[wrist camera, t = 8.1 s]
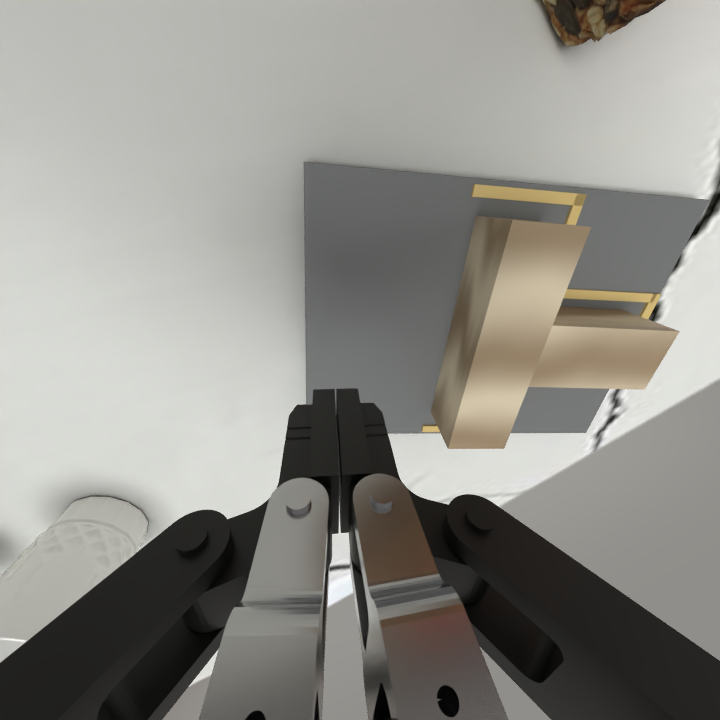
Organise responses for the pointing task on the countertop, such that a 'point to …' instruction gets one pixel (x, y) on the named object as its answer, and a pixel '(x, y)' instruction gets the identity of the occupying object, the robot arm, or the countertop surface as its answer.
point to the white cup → (66, 565)
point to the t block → (530, 332)
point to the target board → (457, 278)
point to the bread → (593, 17)
